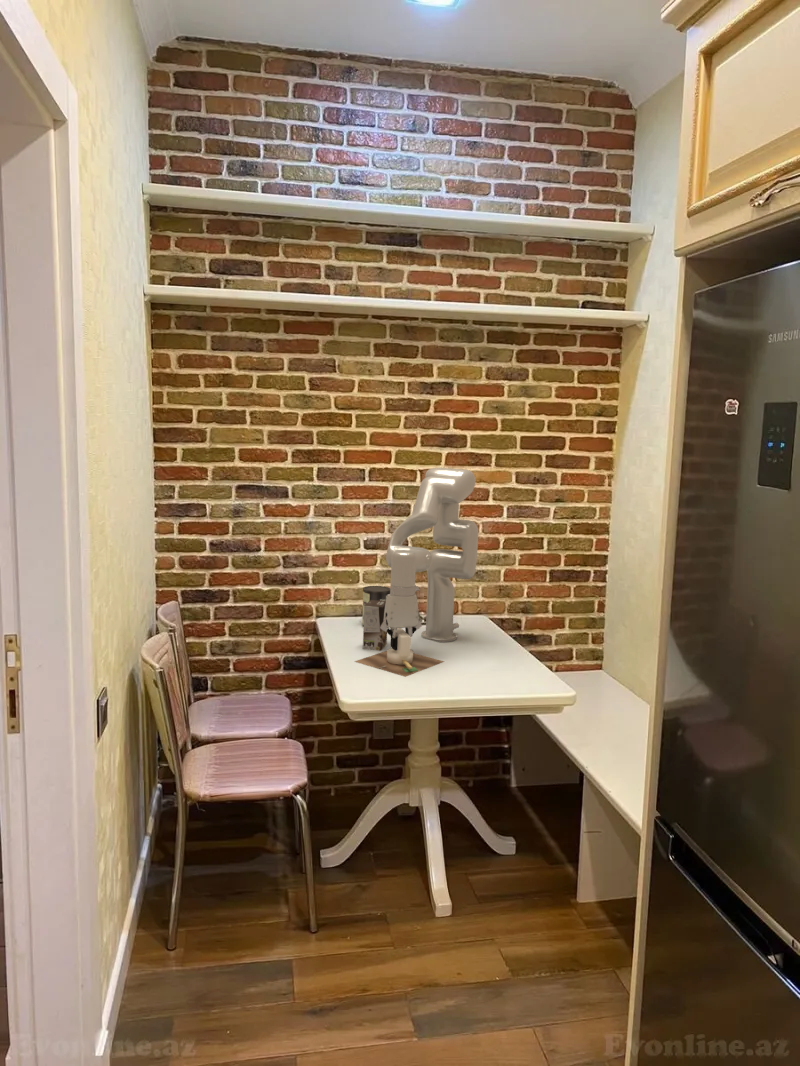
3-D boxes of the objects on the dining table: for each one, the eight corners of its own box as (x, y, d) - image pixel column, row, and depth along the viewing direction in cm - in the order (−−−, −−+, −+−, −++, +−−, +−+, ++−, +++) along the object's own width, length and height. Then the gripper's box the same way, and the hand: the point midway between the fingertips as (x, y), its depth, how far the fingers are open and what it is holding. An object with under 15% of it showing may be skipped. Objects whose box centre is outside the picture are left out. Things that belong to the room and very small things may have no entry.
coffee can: (394, 625, 282) (396, 588, 280) (379, 630, 273) (380, 592, 271) (372, 620, 287) (373, 584, 285) (356, 625, 279) (357, 588, 277)
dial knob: (382, 655, 238) (383, 628, 237) (406, 654, 240) (408, 627, 239) (397, 672, 222) (398, 643, 221) (423, 671, 225) (424, 641, 223)
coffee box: (381, 655, 244) (383, 606, 242) (362, 653, 246) (363, 605, 243) (387, 647, 253) (389, 600, 251) (368, 645, 254) (370, 599, 252)
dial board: (394, 652, 248) (394, 647, 248) (444, 666, 236) (444, 660, 236) (354, 666, 233) (354, 660, 232) (405, 681, 220) (405, 676, 220)
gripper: (422, 587, 237) (420, 643, 240) (373, 589, 231) (371, 647, 234) (432, 592, 230) (429, 650, 233) (381, 594, 224) (379, 654, 227)
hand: (400, 648), depth 233 cm, fingers closed on dial knob, 3 cm apart
